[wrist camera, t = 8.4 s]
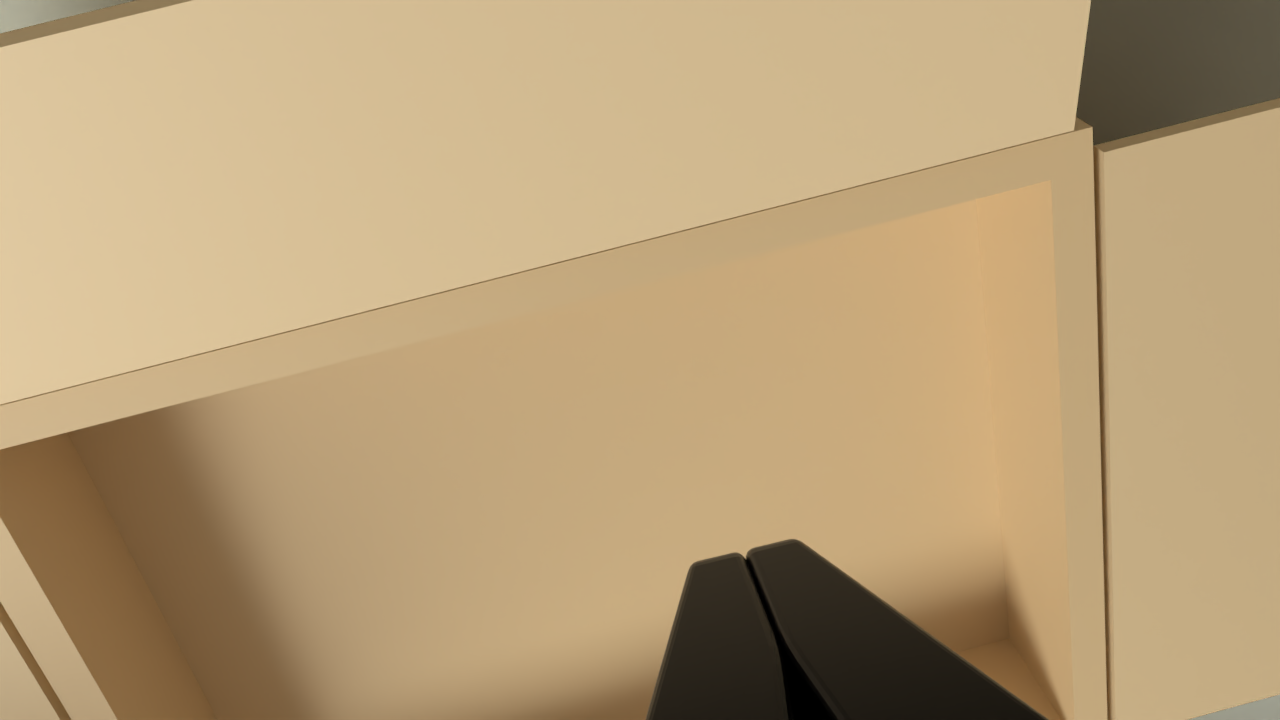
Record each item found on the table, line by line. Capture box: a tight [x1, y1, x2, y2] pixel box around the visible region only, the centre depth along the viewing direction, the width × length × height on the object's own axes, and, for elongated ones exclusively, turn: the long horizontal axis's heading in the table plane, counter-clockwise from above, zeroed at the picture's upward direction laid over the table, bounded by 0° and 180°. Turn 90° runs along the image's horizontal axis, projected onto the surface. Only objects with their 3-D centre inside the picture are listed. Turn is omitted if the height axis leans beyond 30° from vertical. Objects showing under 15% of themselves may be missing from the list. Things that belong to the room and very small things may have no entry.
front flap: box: [0, 0, 1091, 404], centre depth 14 cm, size 15×1×4 cm
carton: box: [0, 98, 1280, 720], centre depth 21 cm, size 23×17×3 cm
